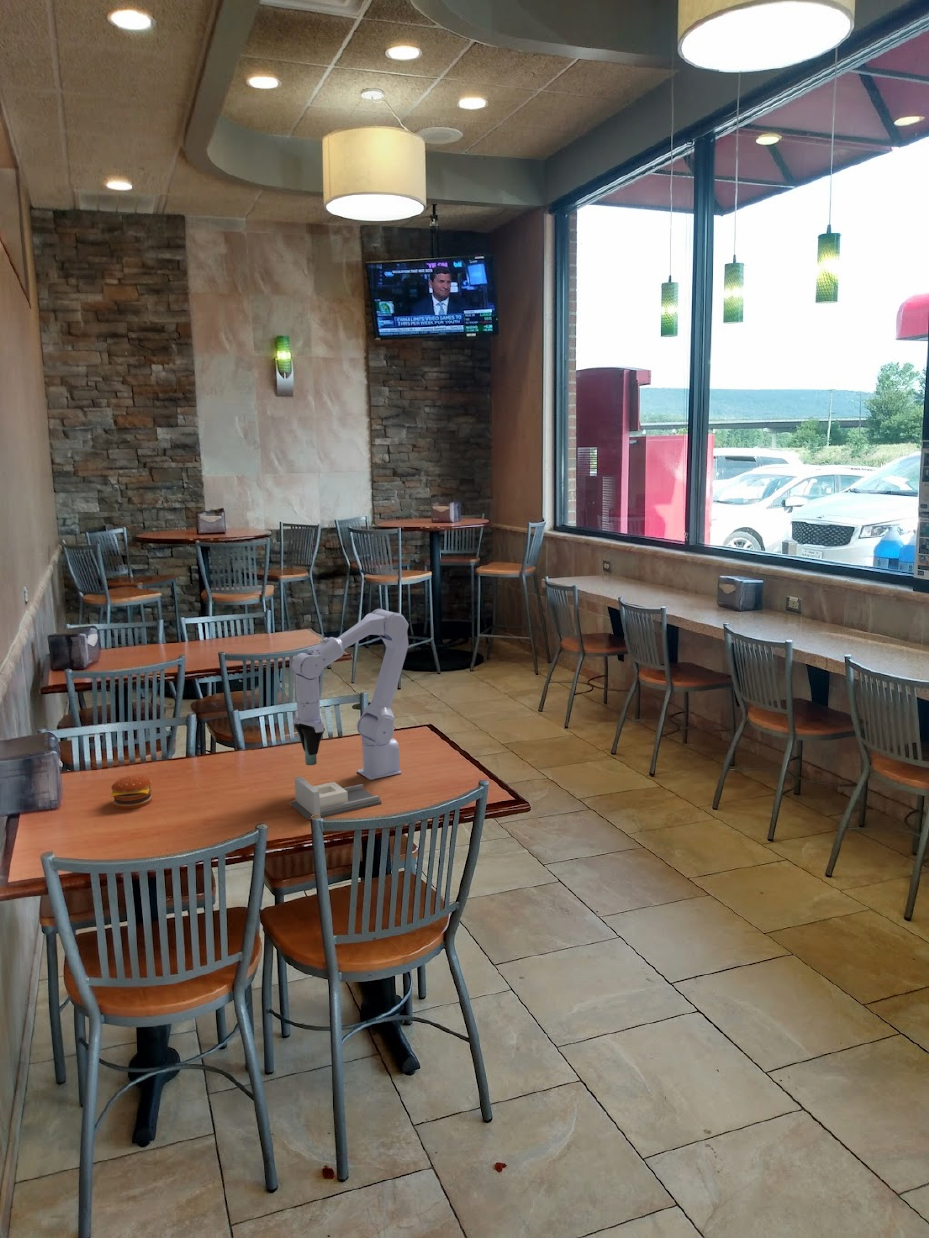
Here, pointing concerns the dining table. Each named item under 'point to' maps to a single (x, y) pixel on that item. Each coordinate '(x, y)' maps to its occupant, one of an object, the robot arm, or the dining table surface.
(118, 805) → the hamburger
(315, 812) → the base
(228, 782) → the dining table surface
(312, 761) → the dowel
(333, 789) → the sliding block
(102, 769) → the dining table surface
